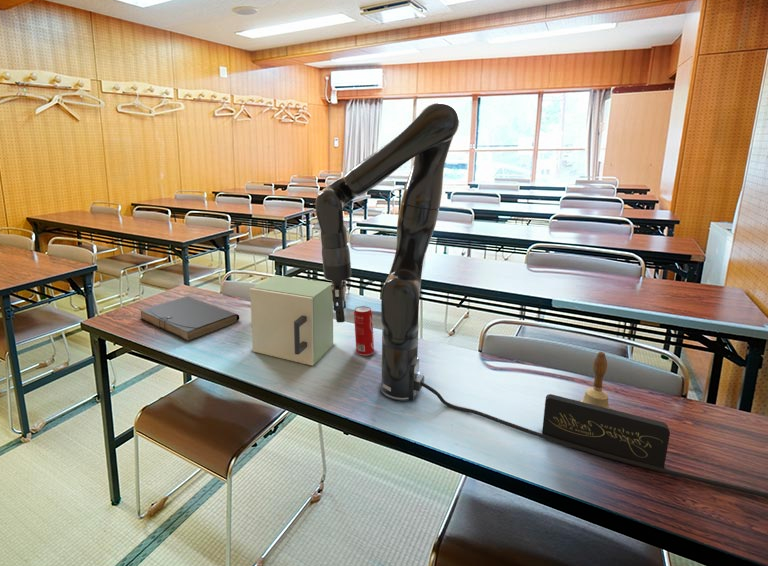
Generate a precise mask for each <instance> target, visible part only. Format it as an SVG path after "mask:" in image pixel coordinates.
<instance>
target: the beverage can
mask: <svg viewBox="0 0 768 566" xmlns="http://www.w3.org/2000/svg"><path fill="white" fill-rule="evenodd" d="M353 320H354V322H353V323H354V337H355V338H354V339H355V350H356V353H357V354H358V355H359V356H364V357H366V356H371V355H373V354H374V352H375V342H374V341H375V340H374V339H375V338H374V323H373V311H372V309H371V307H369V306H365V305H364V306H363V305H362V306H356V307H355V308H354V311H353Z"/></svg>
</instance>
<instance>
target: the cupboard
mask: <svg viewBox="0 0 768 566" xmlns="http://www.w3.org/2000/svg"><path fill="white" fill-rule="evenodd" d="M331 285H332V282H328V281H322V280H314V279H306V278H298V277H292V276H285V275H277V274H276V275H274V276H271V277H269V278H268V279H265V280H264V281H261V282H260V283H258V284H256V285H254V286H252V287H251V288H255V289H261V290H267V291H274V292H280V293H286V294H293V295H299V296H306V297H312V298H313V343H314V365H315V364H316V363H318V361H319V360H321V358H322V357H323V356H324V355H325V354H326V353H327V352H328V351H329V350H330V349H331V348H332V347H333V346H334V309H333V308H334V305H333V300H332V290H331Z"/></svg>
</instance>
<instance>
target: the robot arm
mask: <svg viewBox="0 0 768 566" xmlns="http://www.w3.org/2000/svg"><path fill="white" fill-rule="evenodd" d="M459 126H460V117H459V114H458V112H457V110H456V109H455V107H453V106H452V105H450V104H449V103H445V102H435V103H431V104H429V105H428V106H426V107H425V108H423V110H422V111H421V112H420V113H419V115H418V116H417V117H416V118H415V119H413V121H412V122H411V123H410V124H409V125H408V126H407V127H406V128H405V129H403V131H402V132H401V133H399V134H398V135H397V136H396V137H395V138H393V139H392V140H391V141H389V142H388V143H386V144H385V145H383V146H382V147H380V148H379V149H378V150H376V151H375V152H373V153H371V154H370V155H369V156H367V157H365V158H364V159H363V160H361V161H360V162H359V163H358V164H356V165H355V166H353V167H352V168H351V169H349V170H348V171H347V172H346V173H345V174H344V175H342V176H341V177H339V178H338V179H336V180H334V181H333V182H331V183H330V184H328V185H327V186H325V187H324V188H323V189H322V190H321V191H320V192H319V193H318V194H317V196H316V198H315V213H316V218H317V223H318V226H319V228H320V242H321V261H322V269H323V278H324V279H325V280H327V281H330V282H331V283H332V285H331V290H332V300H333V312H335V319H336V320H335V321H336V323H345V321H346V319H345V309H346V308H347V301H346V294H347V281H346V280H348V279H350V278H351V277H352V265H351V264H352V263H351V252H350V248H349V240H348V231H347V230H348V229H347V226H346V224H345V223H344V222H345V221H344V207H345V206H346V205H348V204H349V203H350V202H352V201H353V200H354V199H356V198H357V197H361V196H362V195H365V194H366V193H368V192H369V191H370V190H372V189H373V188H375V187H376V186H378V185H379V184H380V183H383V181H385V180H386V179H387V178H388V177H390V176H392V175H393V173H394V172H395V171H397V170H398V169H400V167H403V165H405V164H406V163H408V162H409V161H410V160H412V159H413V162H412V163H413V164H412V166H411V170H410V172H409V175H408V178H407V180H406V183H405V186H404V189H403V194H402V197H401V202H400V207H399V212H398V216H397V226H396V248H395V254H394V257H393V262H392V264H391V268H390V270H389V273H388V276H387V278H386V280H385V281H384V284H383V286H382V289H381V295H380V296H381V299H380V310H381V311H380V313H381V314H380V315H381V319H380V321H381V325H382V331H381V332H382V333H381V334H382V335H381V336H382V337H381V378H380V379H381V382H380V392H381V394H382V395H383V396H384V397H386V398H388V399H391V400H393V401H400V402H404V401H405V402H407V401H411V402H413V401H414V400H415V398H416V396H417V394H418V392H421V389H422V388H424V389H426V390H428V391H430V392H431V393H432V394H434V395H435V396H436V397H437V398H438V400H439V401H440V402H441V404H443V405H444V406H446V407H448V408H450V409H453V410H456V411H460V412H465V413H469V414H472V415H476V416H479V417H481V418H484V419H488V420H491V421H493V422H495V423H499V424H500V425H503V426H506V427H508V428H512V429H515V430H517V431H521V432H523V433H526V434H529V435H532V436H534V437H538V438H540V439H543V440H545V441H550V442H553V443H556V444H559V445H562V446H565V447H569V448H572V449H575V450H578V451H581V452H584V453H588V454H592V455H595V456H599V457H602V458H606V459H609V460H612V461H616V462H620V463H622V464H623V463H624V464H628V465H632V466H634V467H639V468H643V469H646V470H650V471H653V470H654V471H653V472H657V471H658V473H662V474H666V475H670V476H674V477H678V478H683V479H686V480H691V481H695V482H700V483H704V484H708V485H712V486H715V487H720V488H725V489H728V490H732V491H737V492H740V493H741V492H742V493H745V494H750V495H754V496H758V497H763V498H766V499H768V492H766V491H763V490H759V489H755V488H752V487H751V488H750V487H746V486H742V485H737V484H733V483H730V482H724V481H720V480H716V479H712V478H708V477H703V476H698V475H694V474H690V473H686V472H682V471H678V470H673V469H670V468H666V467H664V468H660V467H657V466H653V465H649V464H646V463H642V462H638V461H634V460H630V459H626V458H623V457H619V456H615V455H612V454H608V453H604V452H601V451H597V450H594V449H590V448H587V447H583V446H580V445H577V444H573V443H570V442H567V441H564V440H560V439H557V438H554V437H551V436H548V435H545V434H542V432H538V431H536V430H532V429H529V428H527V427H524V426H521V425H518V424H515V423H511V422H509V421H507V420H504V419H501V418H498V417H496V416H492V415H491V414H488V413H484V412H482V411H479V410H475V409H472V408H468V407H464V406H463V407H462V406H458V405H454V404H452V403H450V402H449V401H447V400H446V399H444V397H443V396H442V395H441V394H440V393H439V392H438V391H437V390H436V389H435V388H433V387H432V386H430V385H428V384H427V383H425V375H423V374H420V358H419V357H418V356H419V355H418V353H419V351H418V350H419V331H420V330H419V329H420V325H419V324H420V323H419V311H420V295H421V291H422V290H421V289H422V274H423V267H424V259H425V255H426V254H427V253H426V252H427V250H428V247H429V245H430V243H431V239H432V237H433V234H434V232H435V229H436V224H437V221H438V216H439V211H440V207H441V202H442V194H443V183H444V172H445V171H444V169H445V165H446V162H447V161H446V160H447V157H448V154H449V150H450V148H451V144H452V141H453V138H454V136H455V135H456V133H458V129H459Z"/></svg>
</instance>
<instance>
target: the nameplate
mask: <svg viewBox="0 0 768 566" xmlns="http://www.w3.org/2000/svg"><path fill="white" fill-rule="evenodd" d="M580 401H581V400H576V399H572V398H568V397H565V396H560V395H556V394H552V393H550V394H547V395H546V396H545V401H544V409H543V420H542V427H541V428H542V430H541V433H542V434H545V435H548V436H551V437H554V438H557V439H560V440H564V441H567V442H570V443H573V444H577V445H580V446H583V447H587V448H590V449H594V450H597V451H601V452H604V453H608V454H612V455H615V456H619V457H623V458H626V459H630V460H634V461H638V462H642V463H646V464H649V465H653V466H657V467H660V468H665V466H666V465H665V464H666V459H667V454H668V448H669V442H670V441H669V440H670V437H671V431H670V428H669V426H668V424H667V423H666V422H664V421H660V420H656V419H652V418H647V417H644V416H640V415H637V414H632V413H627V412H625V411H620V410H616V409H612V408H610V409H608V408H604V407H600V406H596V405H592V404H588V403H584V402H580ZM652 471H653V472H655V471H654V470H652ZM657 472H658V471H656V473H657ZM658 473H659V472H658Z"/></svg>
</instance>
